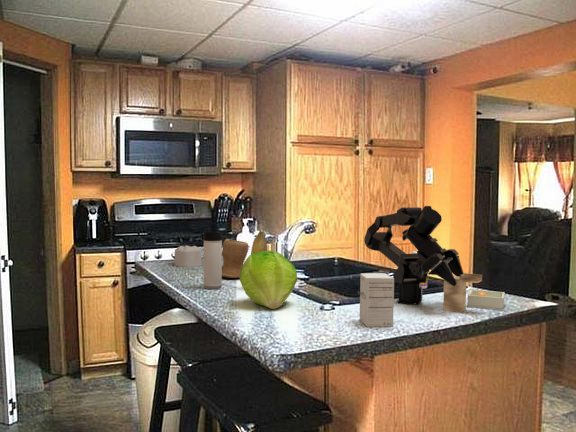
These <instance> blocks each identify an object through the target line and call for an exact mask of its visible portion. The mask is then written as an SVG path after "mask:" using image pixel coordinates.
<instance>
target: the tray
mask: <svg viewBox="0 0 576 432" xmlns="http://www.w3.org/2000/svg"><path fill="white" fill-rule="evenodd" d="M479 292H484V293H486V295H487V296H476V295H477V294H478V293H479ZM505 294H506V293H505V291H494V290H492V291H491V290H482V289H481V290H479V289H469V292H468V294H467V300H466V307H467V308H477V309H487V310H498V311H499V310H500V311H504V309H505Z"/></svg>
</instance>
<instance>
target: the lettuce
mask: <svg viewBox="0 0 576 432" xmlns="http://www.w3.org/2000/svg"><path fill="white" fill-rule="evenodd" d="M239 282H240V284H241V286H242V289H243V291H244V293H245V295H246V296H247V297H248V298H249V299H250V300H251V301H253V303H255V304H257V305H261V306H264V307H266V308H268V309H272V310H275V309H277V308H279V307H281V306H282V304H283V303H285V301H286V300H287V299H288V298H289V297H290V295H291V293H293V290H294V288H295V286H296V284H297V282H298V275H297V269H296V267H295V266H294V265H293V263H292V262H291V261H290V260H288V259H287V258H285V255H283V254H282V253H280V252H279V251H274V250H267V251H263V252H258V253H253V254H251V253H250V255H249V256H247V257H246V258H245V261H244V263H243V266H242V269H241V272H240V278H239Z"/></svg>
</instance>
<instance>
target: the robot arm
mask: <svg viewBox="0 0 576 432" xmlns="http://www.w3.org/2000/svg"><path fill="white" fill-rule="evenodd" d="M442 220H443V219H442V214H441V213H439V211H437V210H436V209H433V208H432V206H431V205H425V206H423V207H414V206H413V207H411V206H410V207H406V206H404V207H400V208H399V209H397V210H396V212H394V213H391V214H385V215H378V216H376V217H375V219H374V222H373V223H372V224H371V225H370V226H369V227H368V228H367V230H366V233H365V235H364V240H363V243H364V245H365V247H366V248H367V249H369V250H371V251H376V252H380V253H381V254H382V255H383V256H384V257H386V258H387V259H388V260H389V261H390V262H392V263H393V264H394V265H395V266H396V267H397V269H396V270H395V272H394V273H393V278H394V283H397V284H398V299H397V300H396V303H399V304H410V305H419V304H421V302H422V301H423V294H424V293H423V291H424V289H423V288H422V287H421V283H426V279H427V280H428V278H427V275H429V276H430V275H432V276H434V275H436V276H438V277H439V278H441V279H442V280H443V281H444V280H445V281H447V282H448V283H450V284H451V285H453V286H455V285H456V284H457V283H456V280H455V278H454V276H457V277H460V275H462V274H464V273H465V272H464V270H463V268H462V267H463V266H462V263H461V260H460V256H459V254H460V253H459V252H458V251H457V250H456V249H455V248H449V249H446V248H443V247H442V246H441V245H440V244H439V243H438V239H437V238H436V237H435V238H433V236H432V235H431V234H432V233H433V232H434V231H435V230H436V228H437V227H438V226H439V225H440V223H441V222H442ZM395 226H401V227H402V226H403V227H407V226H408V228H407V229H405V230H403V231H402V236H401V237H402V241H403V242H404V241H406V240H408V241H410V243H411V244H412V245H413V246H414V247H415V249H416V250H417V254H412V253H406V252H405V251H404V250H402V249H401V248H400V247H398V246H397V245H395V244H394V243H393V242H392V238H393V236H394V235H393V232H392V227H395ZM381 228H382V229H383V228H387V231H379V230H380V229H381Z"/></svg>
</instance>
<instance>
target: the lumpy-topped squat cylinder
mask: <svg viewBox="0 0 576 432" xmlns="http://www.w3.org/2000/svg"><path fill="white" fill-rule="evenodd" d="M174 266H175V267H178V268H179V267H180V268H194V267H201V266H202V249H200V248H198V247H197V246H196V245H193V246H190V245H187V244H186V245H180V246H178V247H177V248H175V249H174Z"/></svg>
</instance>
